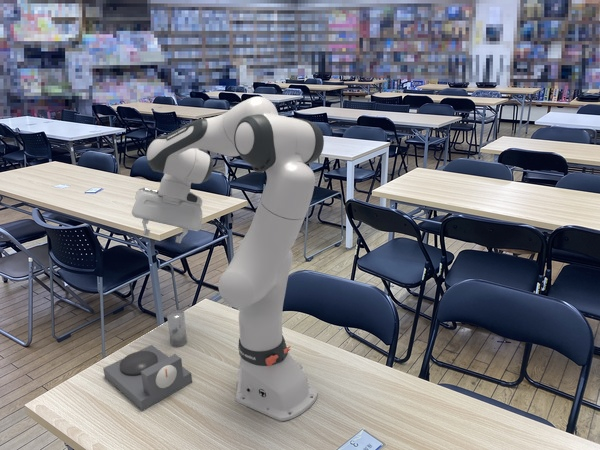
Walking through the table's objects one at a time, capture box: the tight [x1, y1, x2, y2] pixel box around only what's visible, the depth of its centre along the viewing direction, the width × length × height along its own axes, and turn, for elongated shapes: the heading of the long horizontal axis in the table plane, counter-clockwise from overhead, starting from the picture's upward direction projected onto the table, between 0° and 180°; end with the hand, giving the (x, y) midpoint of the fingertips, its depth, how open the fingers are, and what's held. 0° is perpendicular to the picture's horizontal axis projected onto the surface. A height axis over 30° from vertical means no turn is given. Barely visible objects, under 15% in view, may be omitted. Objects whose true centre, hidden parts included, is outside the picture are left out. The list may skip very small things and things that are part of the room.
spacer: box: [166, 309, 188, 348], centre depth 147 cm, size 5×5×10 cm
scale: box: [102, 344, 193, 412], centre depth 130 cm, size 20×15×9 cm
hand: (161, 239), depth 140 cm, fingers open, 8 cm apart
